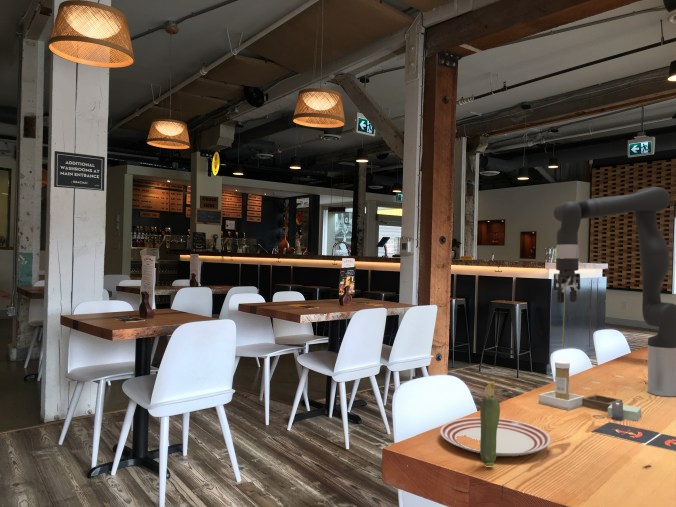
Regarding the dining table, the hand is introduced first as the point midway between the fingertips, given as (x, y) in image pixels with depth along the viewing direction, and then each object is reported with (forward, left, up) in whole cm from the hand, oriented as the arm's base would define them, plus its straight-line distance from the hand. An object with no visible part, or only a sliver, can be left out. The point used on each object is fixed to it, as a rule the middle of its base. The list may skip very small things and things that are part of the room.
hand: (567, 302), depth 191 cm
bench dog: (+16, +25, -33) cm, 44 cm away
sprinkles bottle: (+14, +6, -32) cm, 36 cm away
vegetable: (+79, +25, -33) cm, 89 cm away
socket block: (+6, +16, -33) cm, 37 cm away
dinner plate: (+65, +16, -34) cm, 75 cm away
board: (+11, +25, -34) cm, 43 cm away
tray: (+14, +6, -33) cm, 36 cm away
